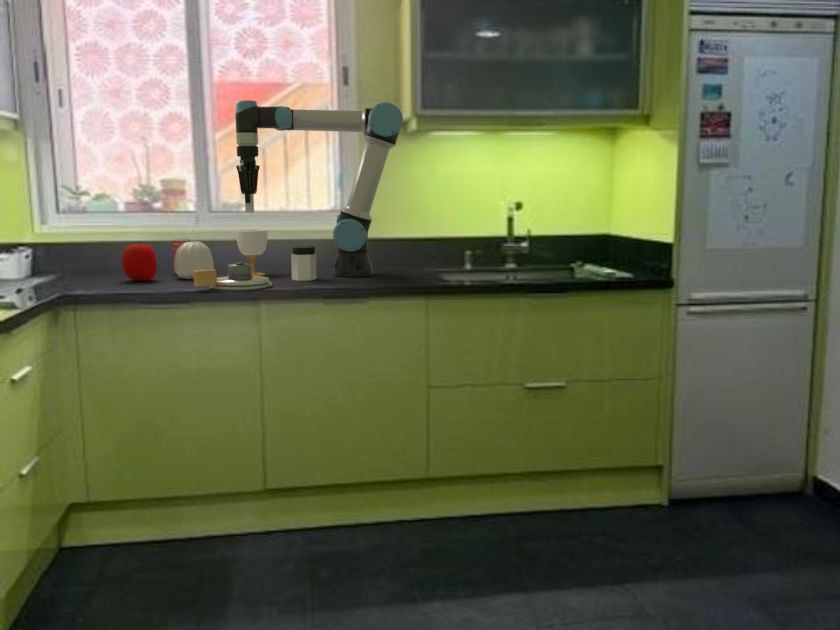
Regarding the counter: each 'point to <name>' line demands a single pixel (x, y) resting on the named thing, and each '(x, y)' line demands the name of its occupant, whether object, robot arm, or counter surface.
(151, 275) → the tomato
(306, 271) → the jar
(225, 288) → the base
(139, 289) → the counter surface
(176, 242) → the soda can
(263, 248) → the cup
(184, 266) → the vase
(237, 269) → the grey stone pot
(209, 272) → the turntable
